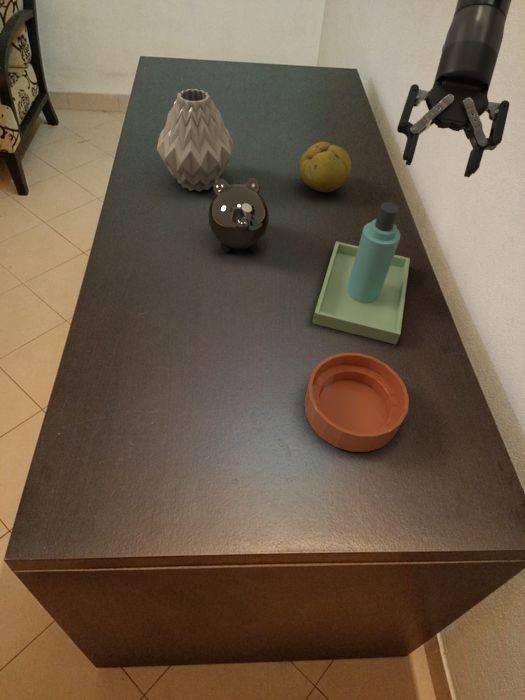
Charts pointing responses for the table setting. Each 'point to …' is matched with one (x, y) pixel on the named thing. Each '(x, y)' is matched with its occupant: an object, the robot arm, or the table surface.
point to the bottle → (374, 255)
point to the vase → (195, 141)
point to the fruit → (325, 167)
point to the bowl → (355, 402)
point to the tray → (356, 316)
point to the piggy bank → (238, 214)
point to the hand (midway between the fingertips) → (438, 169)
